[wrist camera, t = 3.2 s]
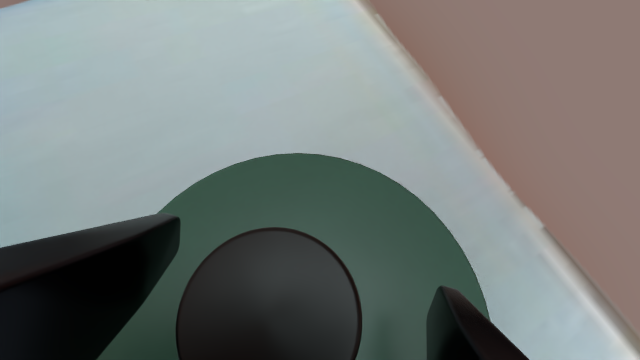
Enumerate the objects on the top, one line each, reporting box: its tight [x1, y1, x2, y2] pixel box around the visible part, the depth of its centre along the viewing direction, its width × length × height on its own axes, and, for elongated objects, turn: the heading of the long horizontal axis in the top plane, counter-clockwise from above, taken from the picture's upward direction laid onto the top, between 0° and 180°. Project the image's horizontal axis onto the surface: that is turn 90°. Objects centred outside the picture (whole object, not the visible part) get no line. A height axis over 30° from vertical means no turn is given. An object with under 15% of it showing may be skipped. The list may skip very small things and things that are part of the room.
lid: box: [97, 153, 490, 360], centre depth 9 cm, size 13×13×8 cm
